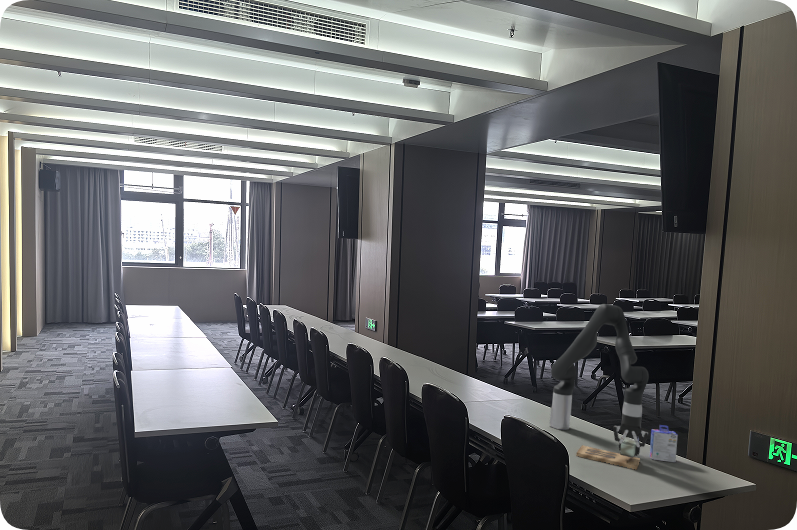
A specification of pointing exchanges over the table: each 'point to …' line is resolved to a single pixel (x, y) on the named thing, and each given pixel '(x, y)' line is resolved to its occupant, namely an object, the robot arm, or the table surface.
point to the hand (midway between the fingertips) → (628, 453)
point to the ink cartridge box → (663, 444)
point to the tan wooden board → (608, 457)
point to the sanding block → (628, 448)
